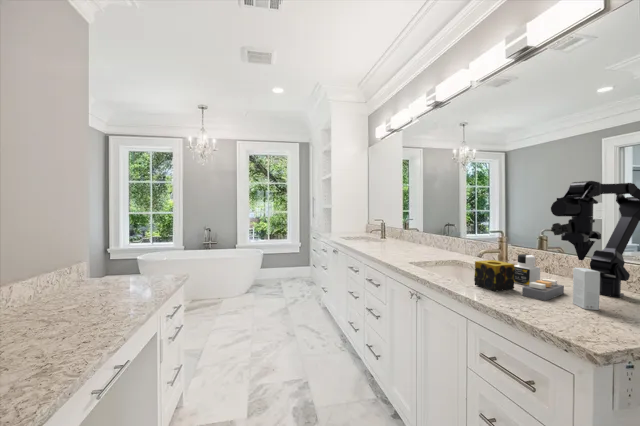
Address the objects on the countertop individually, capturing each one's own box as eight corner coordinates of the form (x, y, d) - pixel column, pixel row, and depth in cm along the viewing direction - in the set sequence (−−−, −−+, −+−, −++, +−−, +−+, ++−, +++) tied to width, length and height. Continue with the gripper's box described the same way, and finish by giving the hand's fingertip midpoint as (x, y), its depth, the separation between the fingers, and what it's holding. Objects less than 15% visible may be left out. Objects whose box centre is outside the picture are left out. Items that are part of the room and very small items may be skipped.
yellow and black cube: (492, 283, 125) (492, 259, 125) (515, 289, 115) (515, 264, 115) (473, 285, 122) (473, 260, 122) (494, 291, 112) (495, 265, 112)
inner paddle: (544, 282, 114) (544, 278, 114) (557, 284, 110) (557, 280, 110) (541, 283, 112) (541, 279, 112) (554, 285, 109) (554, 281, 109)
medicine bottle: (511, 282, 127) (512, 254, 127) (522, 280, 130) (523, 253, 130) (529, 286, 120) (529, 256, 120) (540, 284, 123) (540, 255, 123)
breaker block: (541, 289, 116) (541, 281, 116) (563, 293, 110) (563, 285, 110) (522, 295, 107) (522, 287, 107) (545, 300, 101) (545, 292, 101)
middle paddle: (538, 283, 111) (538, 280, 111) (551, 286, 108) (551, 282, 108) (535, 284, 110) (535, 281, 110) (548, 287, 106) (548, 283, 106)
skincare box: (599, 310, 92) (601, 271, 92) (584, 309, 93) (585, 271, 93) (586, 304, 98) (587, 268, 98) (571, 303, 99) (572, 267, 99)
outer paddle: (532, 285, 108) (532, 281, 108) (545, 288, 105) (545, 284, 105) (529, 286, 107) (529, 282, 107) (542, 289, 104) (542, 285, 104)
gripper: (564, 215, 118) (563, 254, 119) (544, 216, 108) (543, 259, 108) (602, 216, 109) (600, 259, 109) (583, 217, 99) (582, 264, 99)
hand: (581, 260), depth 107 cm, fingers closed
